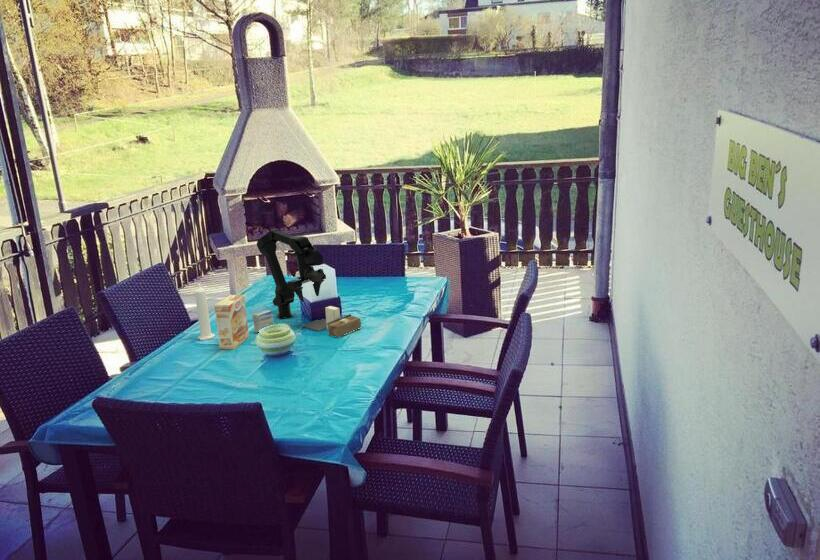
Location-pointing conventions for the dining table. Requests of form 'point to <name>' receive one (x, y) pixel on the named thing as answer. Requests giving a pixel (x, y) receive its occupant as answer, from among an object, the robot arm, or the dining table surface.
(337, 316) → the cream pillar
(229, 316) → the coffeecake box
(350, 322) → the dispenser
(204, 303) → the candle
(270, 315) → the medicine box
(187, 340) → the dining table surface
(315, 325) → the mat
